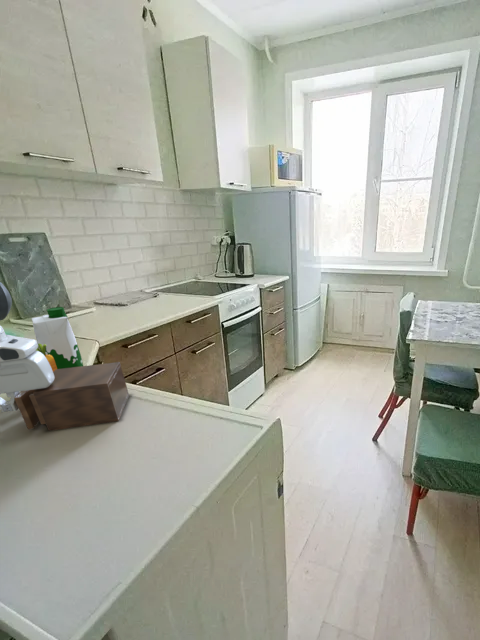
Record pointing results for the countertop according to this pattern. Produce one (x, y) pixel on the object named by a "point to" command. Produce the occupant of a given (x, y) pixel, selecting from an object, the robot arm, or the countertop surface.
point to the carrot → (47, 357)
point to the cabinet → (83, 396)
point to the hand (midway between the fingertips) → (11, 410)
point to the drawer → (29, 408)
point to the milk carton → (58, 338)
